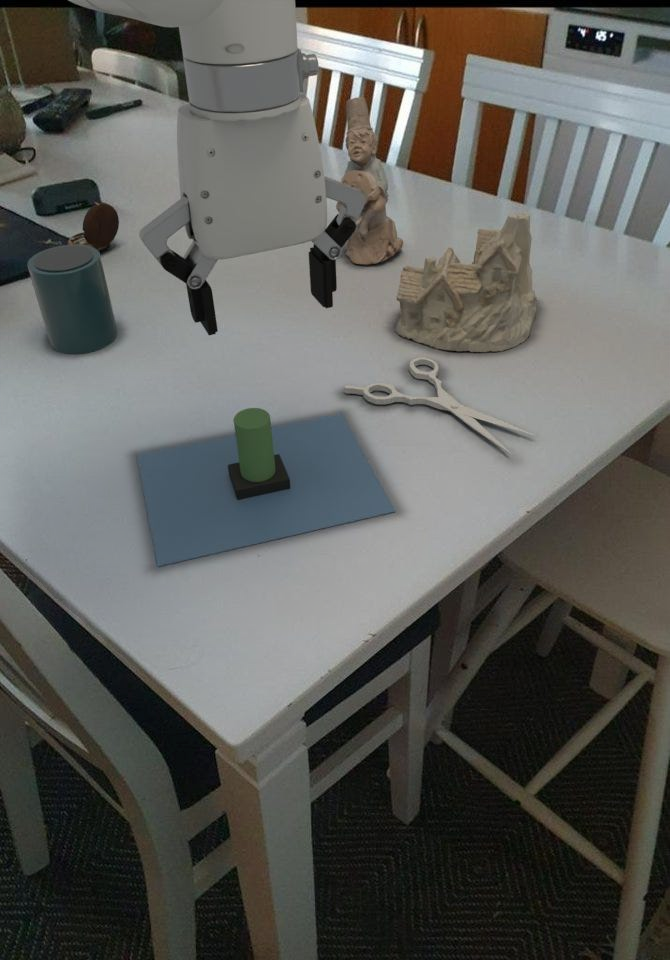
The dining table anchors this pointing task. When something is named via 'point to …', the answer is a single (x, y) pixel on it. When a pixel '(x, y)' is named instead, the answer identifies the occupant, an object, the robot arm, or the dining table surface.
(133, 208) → the dining table surface
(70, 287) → the teal cylinder
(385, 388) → the scissors
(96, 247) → the compass
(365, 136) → the figurine
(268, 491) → the stamp
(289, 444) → the napkin
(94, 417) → the dining table surface
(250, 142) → the robot arm
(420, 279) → the ceramic cottage
